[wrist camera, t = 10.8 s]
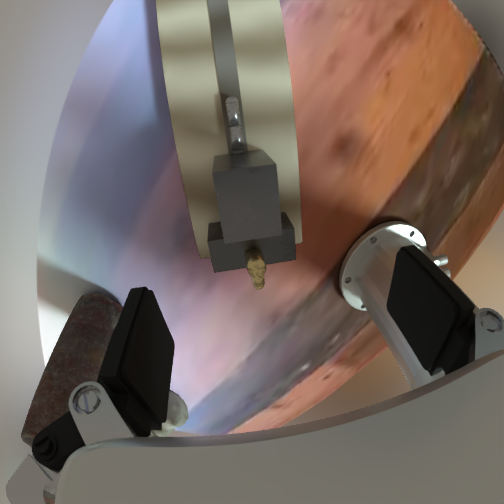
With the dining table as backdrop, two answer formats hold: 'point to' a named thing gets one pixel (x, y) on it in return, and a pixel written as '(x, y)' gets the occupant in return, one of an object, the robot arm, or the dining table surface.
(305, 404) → the dining table surface
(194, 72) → the rail board
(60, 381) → the candle
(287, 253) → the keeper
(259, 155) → the dark grey block
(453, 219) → the dining table surface
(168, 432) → the ceramic sculpture
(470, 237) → the dining table surface
